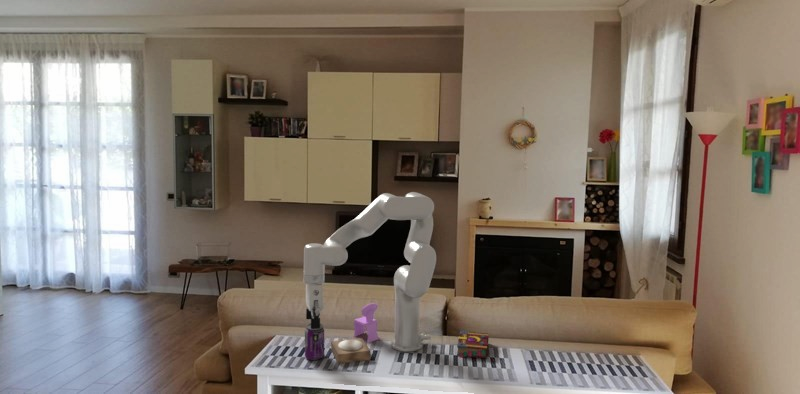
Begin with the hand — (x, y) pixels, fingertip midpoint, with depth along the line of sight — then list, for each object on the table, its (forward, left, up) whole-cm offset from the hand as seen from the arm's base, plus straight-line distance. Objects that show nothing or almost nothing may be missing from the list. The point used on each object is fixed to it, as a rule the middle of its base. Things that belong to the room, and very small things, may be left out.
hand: (312, 323), depth 197 cm
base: (-14, +2, -13) cm, 19 cm away
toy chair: (-24, -12, -13) cm, 30 cm away
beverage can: (-1, 0, -13) cm, 13 cm away
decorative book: (-60, +12, -14) cm, 62 cm away
